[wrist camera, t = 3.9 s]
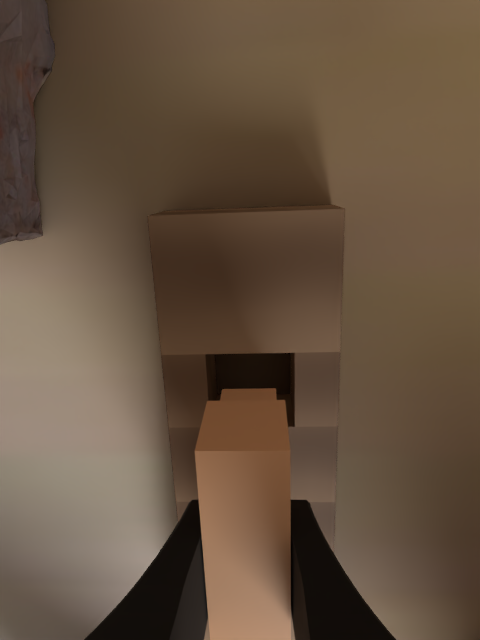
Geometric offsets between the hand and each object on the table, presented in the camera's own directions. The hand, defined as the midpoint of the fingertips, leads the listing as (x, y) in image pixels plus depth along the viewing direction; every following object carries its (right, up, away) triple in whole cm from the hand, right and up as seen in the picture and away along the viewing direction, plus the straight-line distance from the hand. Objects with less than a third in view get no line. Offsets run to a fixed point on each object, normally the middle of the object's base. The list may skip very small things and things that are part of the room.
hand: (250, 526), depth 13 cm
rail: (0, +2, +5) cm, 6 cm away
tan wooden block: (0, 0, +3) cm, 3 cm away
